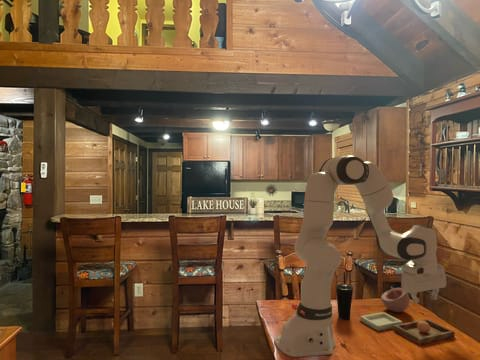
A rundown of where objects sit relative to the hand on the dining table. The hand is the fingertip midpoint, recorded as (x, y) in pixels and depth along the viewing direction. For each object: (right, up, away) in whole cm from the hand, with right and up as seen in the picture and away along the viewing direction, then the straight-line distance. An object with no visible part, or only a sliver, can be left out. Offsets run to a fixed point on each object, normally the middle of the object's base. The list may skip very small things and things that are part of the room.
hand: (424, 300), depth 126 cm
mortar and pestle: (-1, -13, +22) cm, 26 cm away
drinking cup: (-27, -13, +15) cm, 34 cm away
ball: (-1, -10, 0) cm, 10 cm away
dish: (-1, -13, 0) cm, 13 cm away
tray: (-13, -13, +9) cm, 21 cm away
